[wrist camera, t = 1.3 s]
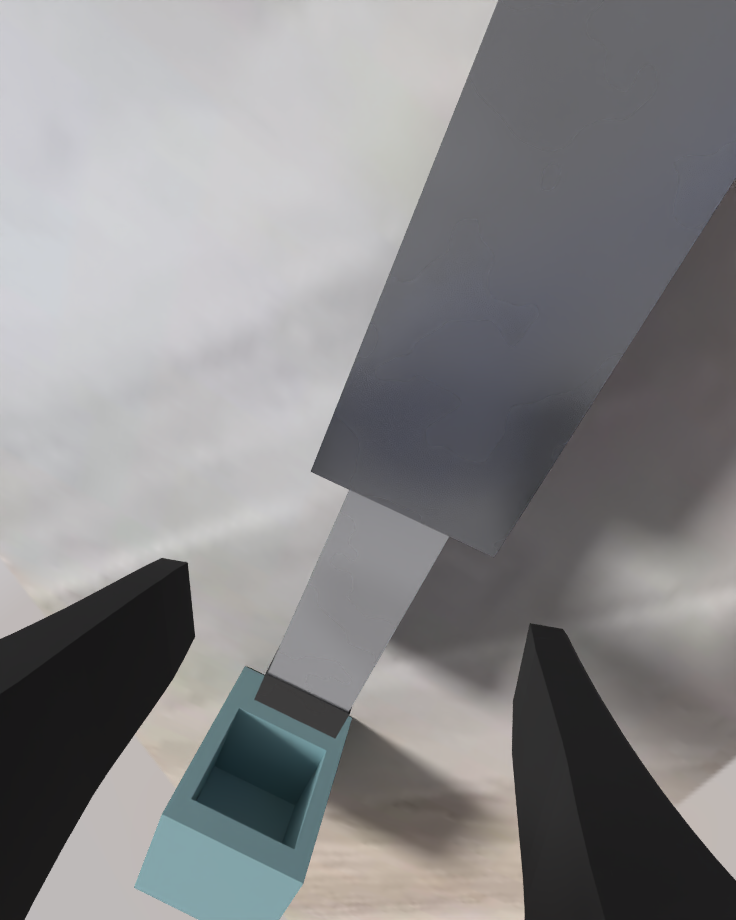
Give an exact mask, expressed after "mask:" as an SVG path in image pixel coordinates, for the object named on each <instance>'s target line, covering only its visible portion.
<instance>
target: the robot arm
mask: <svg viewBox="0 0 736 920" xmlns="http://www.w3.org/2000/svg"><path fill="white" fill-rule="evenodd" d="M194 638H195V631H194V621H193V611H192V601H191V591H190V581H189V571H188V563H187V562H181V561H176V560H170V559H164V558H161V559H159V560H157V561H155V562H152V563H150V564H148V565H146V566H144V567H142V568H140V569H138V570H137V571H135V572H133V573H131V574H129V575H127V576H125V577H123V578H121V579H120V580H118V581H116V582H114V583H112V584H110V585H108V586H107V587H105V588H103V589H101V590H99V591H97V592H95V593H93V594H91V595H89V596H88V597H86V598H84V599H82V600H80V601H78V602H76V603H74V604H72V605H70V606H69V607H67V608H65V609H63V610H60V611H58V612H56V613H54V614H52V615H50V616H48V617H46V618H44V619H42V620H40V621H38V622H36V623H34V624H32V625H30V626H27V627H25V628H23V629H21V630H19V631H17V632H15V633H13V634H11V635H8V636H6V637H4V638H2V639H0V920H25V918H26V916H27V914H28V912H29V910H30V908H31V906H32V904H33V902H34V900H35V898H36V896H37V894H38V893H39V891H40V889H41V887H42V885H43V883H44V882H45V880H46V878H47V876H48V874H49V872H50V871H51V868H52V867H53V865H54V863H55V861H56V859H57V858H58V856H59V854H60V852H61V850H62V848H63V847H64V845H65V843H66V841H67V839H68V838H69V836H70V834H71V833H72V831H73V829H74V827H75V826H76V824H77V822H78V820H79V819H80V817H81V815H82V813H83V812H84V810H85V808H86V807H87V805H88V803H89V801H90V800H91V798H92V796H93V795H94V793H95V791H96V790H97V788H98V787H99V785H100V784H101V782H102V781H103V779H104V778H105V776H106V775H107V773H108V772H109V770H110V769H111V767H112V766H113V764H114V763H115V762H116V760H117V759H118V757H119V756H120V755H121V753H122V752H123V750H124V749H125V747H126V746H127V745H128V743H129V742H130V740H131V739H132V737H133V736H134V735H135V733H136V732H137V730H138V729H139V728H140V726H141V725H142V723H143V722H144V720H145V719H146V718H147V716H148V715H149V713H150V712H151V710H152V709H153V708H154V706H155V705H156V703H157V702H158V700H159V699H160V697H161V696H162V695H163V693H164V692H165V690H166V689H167V687H168V686H169V684H170V683H171V681H172V680H173V678H174V676H175V674H176V673H177V671H178V669H179V667H180V665H181V663H182V662H183V660H184V658H185V656H186V654H187V652H188V650H189V648H190V646H191V644H192V642H193V640H194ZM512 758H513V770H514V782H515V794H516V805H517V816H518V827H519V838H520V850H521V861H522V872H523V886H524V906H525V920H736V880H735V879H734V878H733V877H732V876H731V875H730V874H729V873H728V871H727V870H726V869H725V868H724V867H723V866H722V865H721V864H720V862H719V861H718V860H717V859H716V858H715V857H714V856H713V854H712V853H711V852H710V851H709V850H708V848H707V847H706V846H705V845H704V844H703V842H702V841H701V840H700V839H699V837H698V836H697V835H696V834H695V833H694V831H693V830H692V829H691V828H690V826H689V825H688V824H687V823H686V821H685V820H684V819H683V818H682V816H681V815H680V814H679V812H678V811H677V810H676V808H675V807H674V806H673V805H672V803H671V802H670V801H669V799H668V798H667V797H666V795H665V794H664V793H663V791H662V790H661V789H660V787H659V786H658V784H657V783H656V782H655V780H654V779H653V777H652V776H651V775H650V773H649V772H648V770H647V769H646V767H645V766H644V765H643V763H642V762H641V760H640V759H639V757H638V756H637V754H636V753H635V751H634V750H633V749H632V747H631V745H630V744H629V742H628V741H627V739H626V738H625V736H624V735H623V733H622V732H621V730H620V728H619V727H618V725H617V724H616V722H615V720H614V719H613V717H612V715H611V714H610V712H609V711H608V709H607V707H606V706H605V704H604V702H603V701H602V699H601V697H600V696H599V694H598V692H597V690H596V689H595V687H594V685H593V683H592V682H591V680H590V678H589V676H588V674H587V673H586V671H585V669H584V667H583V665H582V663H581V661H580V660H579V658H578V656H577V654H576V652H575V650H574V648H573V646H572V644H571V642H570V640H569V638H568V636H567V634H566V633H565V632H564V630H563V629H559V628H553V627H548V626H542V625H536V624H531V623H530V626H529V630H528V635H527V639H526V644H525V649H524V653H523V658H522V663H521V667H520V672H519V676H518V681H517V686H516V690H515V695H514V699H513V727H512Z"/></svg>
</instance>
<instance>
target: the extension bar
mask: <svg viewBox="0 0 736 920" xmlns="http://www.w3.org/2000/svg"><path fill="white" fill-rule="evenodd" d="M448 538H449V536H447V535H445V534H443V533H440V532H438V531H436V530H434V529H432V528H430V527H428V526H426V525H423V524H421V523H419V522H417V521H415V520H413V519H411V518H408V517H406V516H404V515H402V514H400V513H398V512H396V511H394V510H391V509H389V508H387V507H385V506H383V505H381V504H379V503H376V502H374V501H372V500H370V499H368V498H366V497H364V496H362V495H359V494H357V493H355V492H353V491H351V490H349V492H348V494H347V496H346V499H345V501H344V503H343V505H342V508H341V510H340V512H339V514H338V517H337V519H336V521H335V523H334V525H333V528H332V530H331V532H330V534H329V537H328V539H327V541H326V543H325V546H324V548H323V550H322V552H321V555H320V557H319V559H318V561H317V564H316V566H315V568H314V570H313V573H312V575H311V577H310V579H309V582H308V584H307V586H306V588H305V591H304V593H303V595H302V597H301V600H300V602H299V604H298V606H297V609H296V611H295V613H294V615H293V618H292V620H291V622H290V624H289V627H288V629H287V631H286V633H285V636H284V638H283V640H282V642H281V644H280V646H279V648H278V650H277V652H276V654H275V656H274V658H273V660H272V662H271V664H270V666H269V668H268V670H267V672H266V674H265V676H264V678H263V681H262V683H261V685H260V687H259V690H258V692H257V694H256V696H255V699H254V700H256V701H258V702H260V703H262V704H264V705H266V706H268V707H270V708H273V709H275V710H277V711H279V712H281V713H283V714H285V715H287V716H289V717H291V718H293V719H295V720H297V721H299V722H302V723H304V724H306V725H308V726H310V727H312V728H314V729H316V730H318V731H320V732H322V733H324V734H326V735H328V736H331V737H333V738H335V739H336V737H337V735H338V733H339V732H340V730H341V728H342V727H343V725H344V723H345V721H346V720H347V718H348V716H349V714H350V711H351V708H352V705H353V703H354V702H355V700H356V698H357V696H358V695H359V693H360V691H361V689H362V688H363V686H364V684H365V682H366V681H367V679H368V677H369V675H370V674H371V672H372V670H373V669H374V667H375V665H376V663H377V662H378V660H379V658H380V656H381V655H382V653H383V651H384V649H385V648H386V646H387V644H388V642H389V641H390V639H391V637H392V635H393V634H394V632H395V630H396V628H397V627H398V625H399V623H400V622H401V620H402V618H403V616H404V615H405V613H406V611H407V609H408V608H409V606H410V604H411V602H412V601H413V599H414V597H415V595H416V594H417V592H418V590H419V588H420V587H421V585H422V583H423V581H424V580H425V578H426V576H427V575H428V573H429V571H430V569H431V568H432V566H433V564H434V562H435V561H436V559H437V557H438V555H439V554H440V552H441V550H442V548H443V547H444V545H445V543H446V541H447V540H448Z"/></svg>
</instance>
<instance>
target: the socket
mask: <svg viewBox="0 0 736 920" xmlns="http://www.w3.org/2000/svg"><path fill="white" fill-rule="evenodd" d="M263 678H264V675H262V674H260V673H258V672H256V671H254V670H252V669H250V668H248V667H246V666H245V667H244V669H243V671H242V673H241V674H240V676H239V678H238V680H237V682H236V683H235V685H234V687H233V689H232V690H231V692H230V694H229V696H228V698H227V699H226V701H225V703H224V705H223V706H222V708H221V710H220V712H219V714H218V715H217V717H216V719H215V721H214V722H213V724H212V726H211V728H210V730H209V731H208V733H207V735H206V737H205V738H204V740H203V742H202V744H201V746H200V747H199V749H198V751H197V753H196V754H195V756H194V758H193V760H192V762H191V763H190V765H189V767H188V769H187V770H186V772H185V774H184V776H183V778H182V779H181V781H180V783H179V785H178V786H177V788H176V790H175V792H174V794H173V795H172V797H171V799H170V801H169V803H168V805H167V806H166V808H165V810H164V811H163V813H162V816H161V818H160V821H159V823H158V826H157V829H156V831H155V834H154V837H153V839H152V842H151V845H150V847H149V850H148V852H147V855H146V857H145V860H144V863H143V865H142V868H141V871H140V873H139V876H138V879H137V881H136V884H135V886H134V888H136V889H138V890H140V891H142V892H144V893H146V894H148V895H150V896H152V897H154V898H156V899H158V900H160V901H162V902H164V903H166V904H168V905H170V906H172V907H174V908H176V909H178V910H180V911H182V912H184V913H186V914H188V915H190V916H192V917H194V918H196V919H198V920H279V919H280V918H281V916H282V915H283V913H284V912H285V910H286V909H287V907H288V906H289V904H290V903H291V901H292V900H293V898H294V897H295V895H296V894H297V892H298V891H299V889H300V888H301V886H302V885H303V883H304V879H305V876H306V872H307V869H308V866H309V862H310V859H311V855H312V852H313V849H314V845H315V842H316V839H317V835H318V832H319V828H320V825H321V822H322V818H323V815H324V811H325V808H326V805H327V801H328V798H329V794H330V791H331V788H332V784H333V781H334V777H335V774H336V771H337V767H338V764H339V760H340V757H341V754H342V750H343V747H344V744H345V740H346V737H347V733H348V730H349V727H350V723H351V720H352V718H351V717H349V716H348V718H347V720H346V721H345V723H344V725H343V727H342V728H341V730H340V732H339V733H338V735H337V737H336V739H335V738H333V737H331V736H328V735H326V734H324V733H322V732H320V731H318V730H316V729H314V728H312V727H310V726H308V725H306V724H304V723H302V722H299V721H297V720H295V719H293V718H291V717H289V716H287V715H285V714H283V713H281V712H279V711H277V710H275V709H273V708H270V707H268V706H266V705H264V704H262V703H260V702H258V701H256V700H254V699H255V696H256V694H257V692H258V690H259V687H260V685H261V683H262V681H263Z"/></svg>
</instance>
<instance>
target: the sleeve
mask: <svg viewBox="0 0 736 920" xmlns="http://www.w3.org/2000/svg"><path fill="white" fill-rule="evenodd" d="M735 178H736V0H498V3H497V5H496V8H495V10H494V13H493V15H492V18H491V20H490V23H489V25H488V28H487V30H486V33H485V35H484V38H483V40H482V43H481V45H480V48H479V51H478V53H477V56H476V58H475V61H474V63H473V66H472V68H471V71H470V73H469V76H468V78H467V81H466V83H465V86H464V88H463V91H462V93H461V96H460V98H459V101H458V103H457V106H456V108H455V111H454V113H453V116H452V118H451V121H450V123H449V126H448V128H447V131H446V133H445V136H444V138H443V141H442V143H441V146H440V148H439V151H438V153H437V156H436V158H435V161H434V163H433V166H432V168H431V171H430V173H429V176H428V178H427V181H426V183H425V186H424V189H423V191H422V194H421V196H420V199H419V201H418V204H417V206H416V209H415V211H414V214H413V216H412V219H411V221H410V224H409V226H408V229H407V231H406V234H405V236H404V239H403V241H402V244H401V246H400V249H399V251H398V254H397V256H396V259H395V261H394V264H393V266H392V269H391V271H390V274H389V276H388V279H387V281H386V284H385V286H384V289H383V291H382V294H381V296H380V299H379V301H378V304H377V306H376V309H375V311H374V314H373V316H372V319H371V322H370V324H369V327H368V329H367V332H366V334H365V337H364V339H363V342H362V344H361V347H360V349H359V352H358V354H357V357H356V359H355V362H354V364H353V367H352V369H351V372H350V374H349V377H348V379H347V382H346V384H345V387H344V389H343V392H342V394H341V397H340V399H339V402H338V404H337V407H336V409H335V412H334V414H333V417H332V419H331V422H330V424H329V427H328V429H327V432H326V434H325V437H324V439H323V442H322V444H321V447H320V449H319V452H318V455H317V457H316V460H315V462H314V465H313V467H312V470H311V472H313V473H315V474H317V475H319V476H321V477H323V478H325V479H327V480H330V481H332V482H334V483H336V484H338V485H340V486H342V487H345V488H347V489H349V490H351V491H353V492H355V493H357V494H359V495H362V496H364V497H366V498H368V499H370V500H372V501H374V502H376V503H379V504H381V505H383V506H385V507H387V508H389V509H391V510H394V511H396V512H398V513H400V514H402V515H404V516H406V517H408V518H411V519H413V520H415V521H417V522H419V523H421V524H423V525H426V526H428V527H430V528H432V529H434V530H436V531H438V532H440V533H443V534H445V535H447V536H449V537H451V538H453V539H455V540H457V541H460V542H462V543H464V544H466V545H468V546H470V547H472V548H475V549H477V550H479V551H481V552H483V553H485V554H487V555H489V556H492V557H495V555H496V554H497V552H498V551H499V549H500V548H501V546H502V544H503V543H504V541H505V540H506V538H507V537H508V535H509V533H510V532H511V530H512V529H513V527H514V526H515V524H516V522H517V521H518V519H519V518H520V516H521V515H522V513H523V511H524V510H525V508H526V507H527V505H528V504H529V502H530V500H531V499H532V497H533V496H534V494H535V493H536V491H537V489H538V488H539V486H540V485H541V483H542V482H543V480H544V478H545V477H546V475H547V474H548V472H549V471H550V469H551V467H552V466H553V464H554V463H555V461H556V460H557V458H558V456H559V455H560V453H561V452H562V450H563V449H564V447H565V445H566V444H567V442H568V441H569V439H570V438H571V436H572V434H573V433H574V431H575V430H576V428H577V427H578V425H579V423H580V422H581V420H582V419H583V417H584V416H585V414H586V412H587V411H588V409H589V408H590V406H591V405H592V403H593V401H594V400H595V398H596V397H597V395H598V394H599V392H600V390H601V389H602V387H603V386H604V384H605V383H606V381H607V379H608V378H609V376H610V375H611V373H612V372H613V370H614V368H615V367H616V365H617V364H618V362H619V361H620V359H621V357H622V356H623V354H624V353H625V351H626V350H627V348H628V346H629V345H630V343H631V342H632V340H633V339H634V337H635V335H636V334H637V332H638V331H639V329H640V328H641V326H642V324H643V323H644V321H645V320H646V318H647V317H648V315H649V313H650V312H651V310H652V309H653V307H654V306H655V304H656V302H657V301H658V299H659V298H660V296H661V295H662V293H663V292H664V290H665V288H666V287H667V285H668V284H669V282H670V281H671V279H672V277H673V276H674V274H675V273H676V271H677V270H678V268H679V266H680V265H681V263H682V262H683V260H684V259H685V257H686V255H687V254H688V252H689V251H690V249H691V248H692V246H693V244H694V243H695V241H696V240H697V238H698V237H699V235H700V233H701V232H702V230H703V229H704V227H705V226H706V224H707V222H708V221H709V219H710V218H711V216H712V215H713V213H714V211H715V210H716V208H717V207H718V205H719V204H720V202H721V200H722V199H723V197H724V196H725V194H726V193H727V191H728V189H729V188H730V186H731V185H732V183H733V182H734V180H735Z"/></svg>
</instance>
